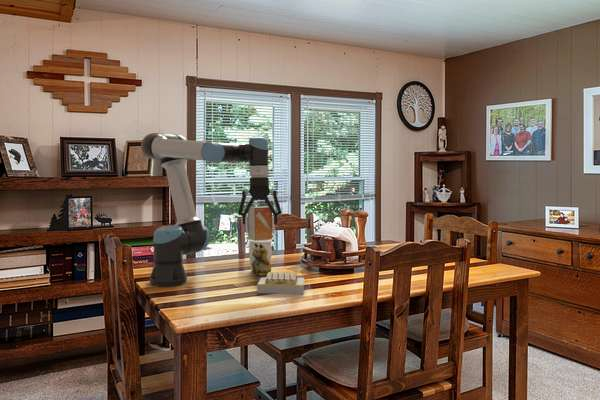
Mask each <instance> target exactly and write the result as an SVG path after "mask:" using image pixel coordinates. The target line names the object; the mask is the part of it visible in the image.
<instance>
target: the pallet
mask: <svg viewBox="0 0 600 400" xmlns="http://www.w3.org/2000/svg"><path fill="white" fill-rule="evenodd" d="M297 278H298V275H297V272H290V271H289V272H283V271H280V272H278V271H275V272H273V271H271V272H268V275H267V277H266V281H265V284H296V280H297Z"/></svg>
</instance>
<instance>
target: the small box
mask: <svg viewBox="0 0 600 400" xmlns="http://www.w3.org/2000/svg"><path fill="white" fill-rule="evenodd" d="M247 216H248V233H247V239H248V240H254V241H256V240H269V239H271V240H273V233H272V216H273V213H272V211H271V210H270V208H269V206H268V205H264V206H251V207H250V208H249V210H248V213H247Z"/></svg>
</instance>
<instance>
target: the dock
mask: <svg viewBox="0 0 600 400" xmlns="http://www.w3.org/2000/svg"><path fill="white" fill-rule="evenodd" d="M265 281H266V277H261V278H260V279H259V281H258V282H257V285H256V292H257V294H271V295H272V294H274V295H276V294H277V295H278V294H279V295H284V294H285V295H304V291H305V290H304V288H305V277H297V280H296V284H265Z"/></svg>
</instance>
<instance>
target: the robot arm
mask: <svg viewBox="0 0 600 400" xmlns="http://www.w3.org/2000/svg"><path fill="white" fill-rule="evenodd" d="M268 142H269V141H268V138H266V137H250V138H249V139H248V143H232V142H231V143H229V142H227V143H226V142H217V141H215V142H214V141H202V140H201V141H200V140H188V139H186V138H185V137H184V136H183V135H180V134H177V133H163V132H162V133H159V132H150V133H149V134H147V135H145V136H144V137H143V138H142V140H141V143H140V150H141V151H142V154H143V155H144V156H145V157H147V158H148V159H150V160H152V161H153V160H154V161H157V160H158V161H159V162H160V166H161V167H162V168H164V169H165V171H166V177H167V182H168V186H169V190H170V195H171V200H172V203H173V209H174V213H175V217H176V223H175V224H172V225H164V226H160V227H158V228H156V229H155V230H154V232H153V239H152V241H153V267H152V270H151V274H150V277H149V284H150V285H151V286H155V287H175V286H181V285H184V284H186V283H188V277H187V273H186V270H185V267H184V265H183V263H184V261H183V256H184V255H189V254H195V253H199V252H202V251H204V250H205V249H206V248H207V247H208V245H209V243H210V240H211V234H210V230H209V229H208V227H206V225H203V223H202V220H201V219H200V218H199V217H197V213H196V208H195V203H194V200H193V195H192V191H191V187H190V183H189V178H188V177H189V176H188V173H187V168H186V164H187V163H188V160H195V161H203V162H209V163H232V164H236V163H248V164H249V176H250V178H249V189H248V190H242V191H241V200H240V204H239V208H238V212H237V214H238V216H241V217H242V225H245V234H248V210H249V208H250V207H253V206H252V205H253V204H254V202H255V201H259V200H260V201H264V202H265V203H266V206H268V207H269V208H270V210H271V211H272V234H274V233H275V232H276V226H275V225H278V216H280V215H281V214H282V213H283V212H282V209H281V205H280V203H279V199H278V196H277V195H278V191H277V189H273V190H271V189H270V181H269V180H270V179H269V177H268V176H269V174H270V172H269V171H270V170H269V169H270V168H269V167H270V166H269V143H268ZM269 194H271V196H272V197H273V201H274V205H275V207H276V209H275V208H274V206H273V204H272V202H271V201H270V199H269ZM249 195H250V196H251V198H250V200H249V202H248V204H247V205H246V207H245V209H244V206H245V203H246V200H247V196H249Z"/></svg>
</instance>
